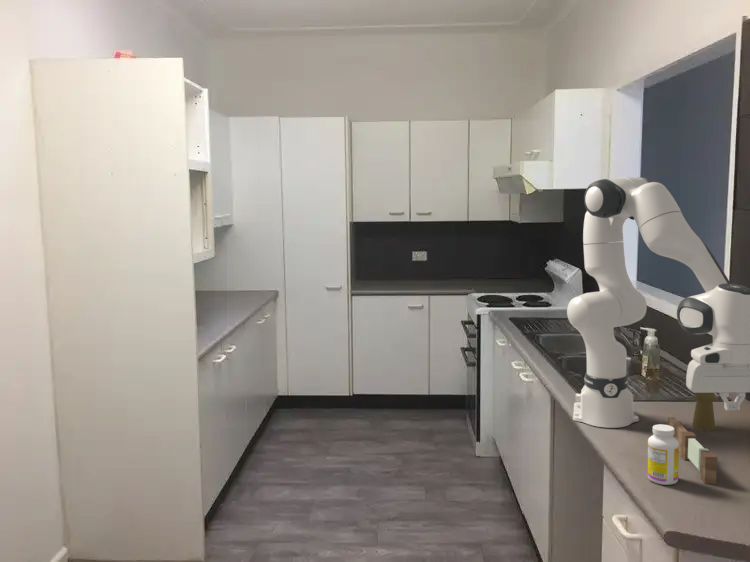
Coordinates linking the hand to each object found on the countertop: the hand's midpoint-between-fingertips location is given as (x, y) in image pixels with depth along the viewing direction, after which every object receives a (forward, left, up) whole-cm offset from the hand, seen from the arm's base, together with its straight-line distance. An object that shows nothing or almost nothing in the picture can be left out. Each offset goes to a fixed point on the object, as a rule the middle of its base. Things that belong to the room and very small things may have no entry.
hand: (732, 409), depth 158 cm
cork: (-30, +5, -15) cm, 34 cm away
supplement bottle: (+6, -17, -15) cm, 24 cm away
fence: (-7, -7, -15) cm, 18 cm away
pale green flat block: (-1, -7, -14) cm, 16 cm away
